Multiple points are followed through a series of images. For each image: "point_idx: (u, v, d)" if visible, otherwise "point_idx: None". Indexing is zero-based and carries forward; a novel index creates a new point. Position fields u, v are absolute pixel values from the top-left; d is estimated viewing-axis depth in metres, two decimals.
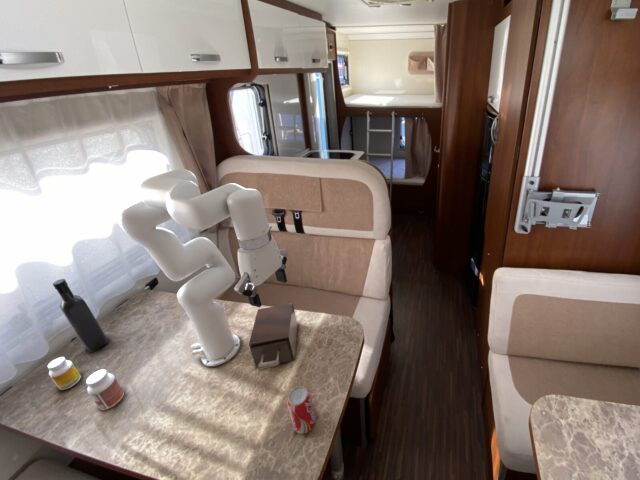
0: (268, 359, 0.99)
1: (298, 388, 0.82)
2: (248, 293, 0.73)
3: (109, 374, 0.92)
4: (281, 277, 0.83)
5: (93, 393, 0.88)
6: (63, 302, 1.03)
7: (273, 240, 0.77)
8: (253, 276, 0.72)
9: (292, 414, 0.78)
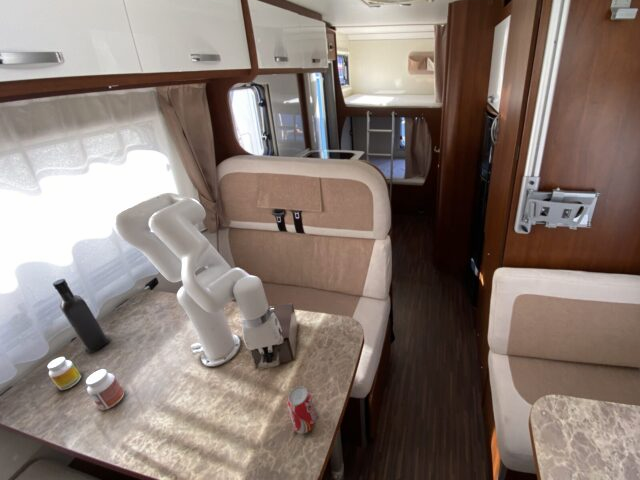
0: None
1: (298, 388, 0.82)
2: (258, 349, 0.92)
3: (109, 374, 0.92)
4: None
5: (93, 393, 0.88)
6: (63, 302, 1.03)
7: (269, 324, 0.88)
8: None
9: (292, 414, 0.78)
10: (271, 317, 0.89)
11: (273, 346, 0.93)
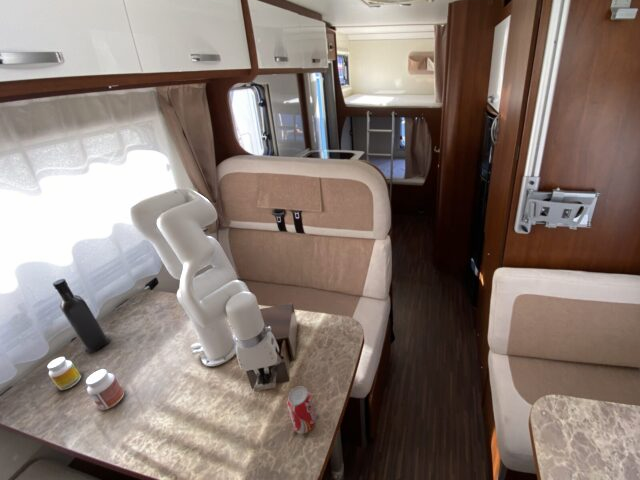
0: None
1: (298, 388, 0.82)
2: None
3: (109, 374, 0.92)
4: None
5: (93, 393, 0.88)
6: (63, 302, 1.03)
7: (264, 343, 0.82)
8: (239, 363, 0.83)
9: (292, 414, 0.78)
10: (267, 336, 0.83)
11: (270, 367, 0.87)
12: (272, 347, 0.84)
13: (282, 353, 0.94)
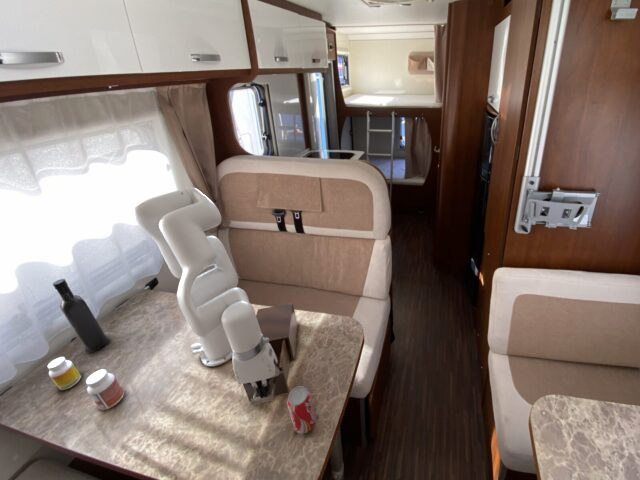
0: None
1: (298, 388, 0.82)
2: None
3: (109, 374, 0.92)
4: None
5: (93, 393, 0.88)
6: (63, 302, 1.03)
7: (262, 356, 0.78)
8: (235, 375, 0.79)
9: (292, 414, 0.78)
10: (265, 348, 0.79)
11: (268, 379, 0.83)
12: (270, 359, 0.80)
13: (281, 364, 0.91)
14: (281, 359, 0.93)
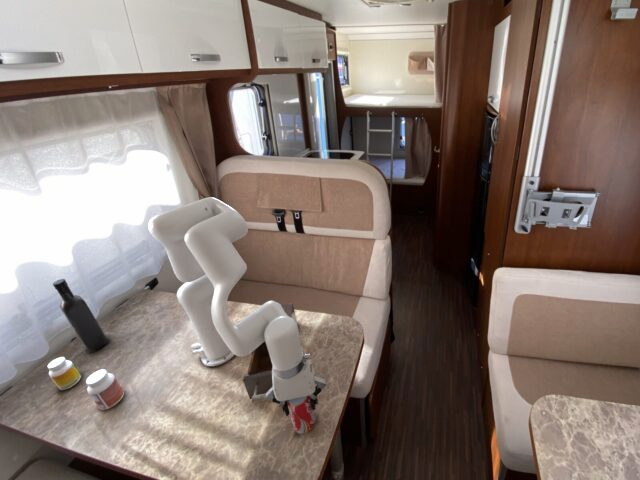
0: (263, 390, 0.90)
1: None
2: (277, 401, 0.78)
3: (109, 374, 0.92)
4: None
5: (93, 393, 0.88)
6: (63, 302, 1.03)
7: (304, 373, 0.74)
8: (274, 393, 0.75)
9: (292, 414, 0.78)
10: (306, 364, 0.75)
11: (317, 392, 0.80)
12: (311, 376, 0.76)
13: None
14: None
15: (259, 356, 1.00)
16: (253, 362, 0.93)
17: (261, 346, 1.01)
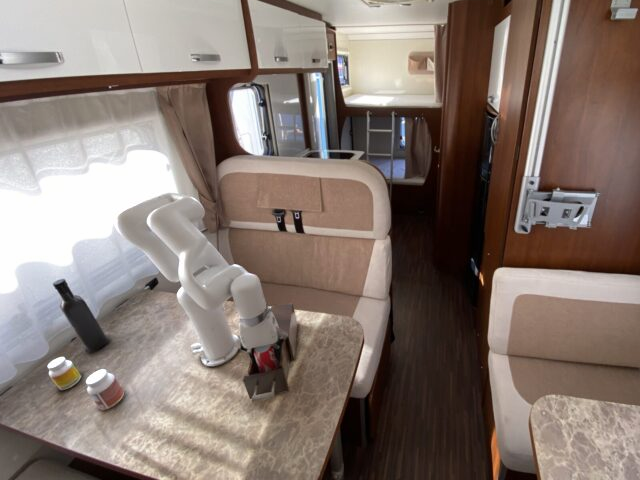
0: (263, 389, 0.90)
1: None
2: (244, 349, 0.90)
3: (109, 374, 0.92)
4: None
5: (93, 393, 0.88)
6: (63, 302, 1.03)
7: (266, 323, 0.86)
8: (241, 341, 0.87)
9: (257, 361, 0.91)
10: (269, 316, 0.87)
11: (280, 342, 0.92)
12: (273, 326, 0.88)
13: (281, 362, 0.92)
14: (281, 357, 0.93)
15: None
16: None
17: None
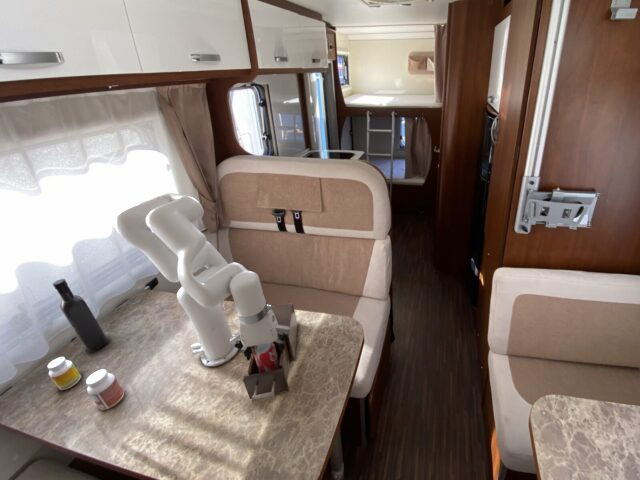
0: (263, 389, 0.90)
1: None
2: (238, 347, 0.89)
3: (109, 374, 0.92)
4: None
5: (93, 393, 0.88)
6: (63, 302, 1.03)
7: (266, 321, 0.86)
8: (241, 339, 0.87)
9: (257, 362, 0.91)
10: (268, 314, 0.87)
11: (284, 338, 0.91)
12: (273, 324, 0.88)
13: (281, 362, 0.92)
14: (281, 357, 0.93)
15: None
16: (253, 362, 0.93)
17: None
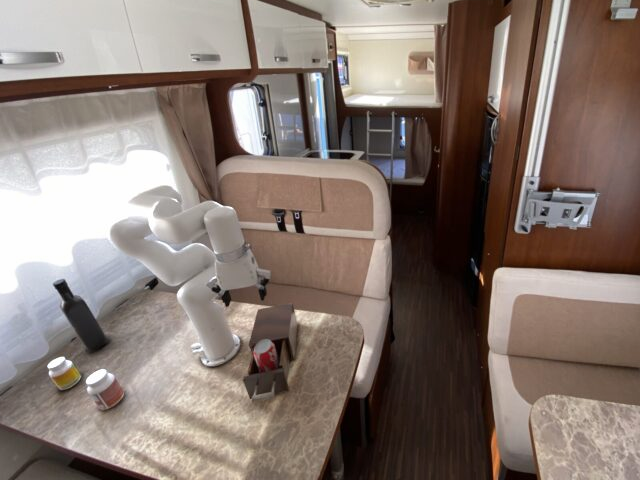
0: (263, 389, 0.90)
1: (264, 341, 0.94)
2: (216, 291, 0.84)
3: (109, 374, 0.92)
4: None
5: (93, 393, 0.88)
6: (63, 302, 1.03)
7: (244, 260, 0.80)
8: (218, 281, 0.81)
9: (257, 362, 0.91)
10: (247, 254, 0.81)
11: (265, 282, 0.86)
12: (252, 266, 0.82)
13: (281, 362, 0.92)
14: (281, 357, 0.93)
15: None
16: (253, 362, 0.93)
17: None
